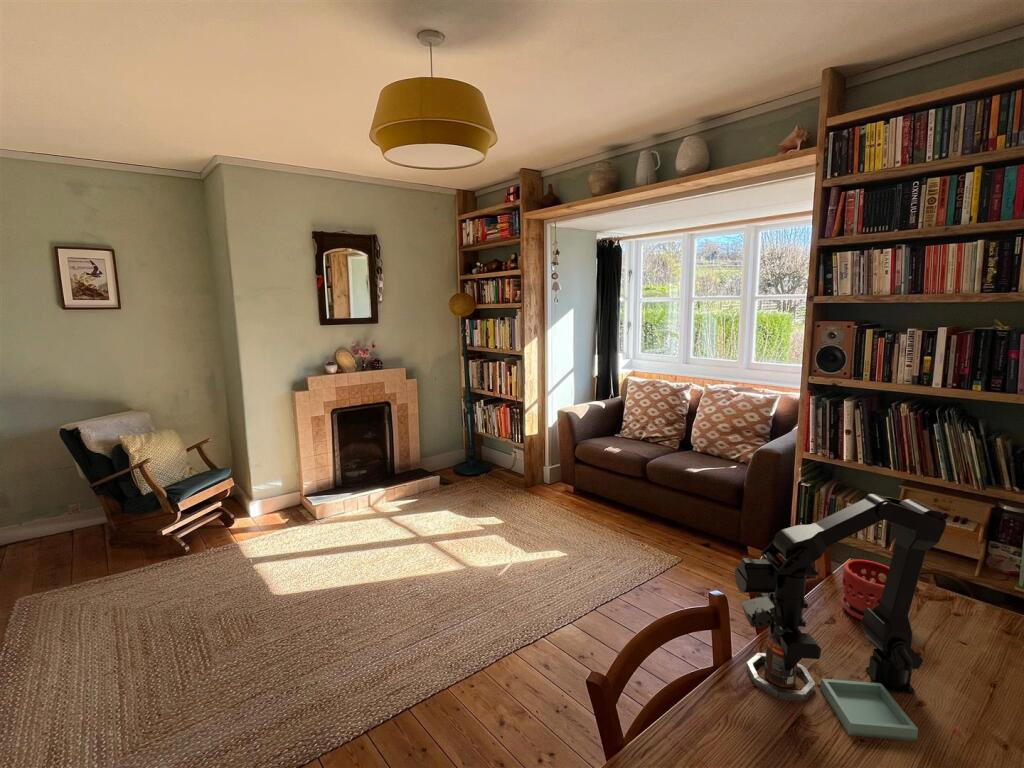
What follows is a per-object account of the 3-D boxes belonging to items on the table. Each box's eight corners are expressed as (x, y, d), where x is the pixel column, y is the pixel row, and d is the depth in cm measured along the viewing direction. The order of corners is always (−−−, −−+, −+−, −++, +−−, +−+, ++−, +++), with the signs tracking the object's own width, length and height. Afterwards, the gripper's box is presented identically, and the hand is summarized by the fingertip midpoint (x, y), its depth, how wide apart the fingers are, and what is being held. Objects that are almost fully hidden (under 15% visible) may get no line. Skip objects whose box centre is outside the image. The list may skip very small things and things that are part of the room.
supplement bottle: (799, 691, 109) (805, 641, 107) (768, 686, 110) (773, 637, 108) (790, 671, 114) (795, 623, 112) (760, 667, 115) (765, 620, 114)
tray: (879, 694, 108) (881, 683, 108) (916, 741, 97) (918, 729, 96) (820, 689, 109) (821, 678, 109) (849, 735, 98) (850, 723, 97)
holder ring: (797, 661, 117) (797, 655, 117) (822, 702, 106) (823, 696, 105) (741, 657, 119) (741, 651, 118) (760, 697, 107) (760, 690, 106)
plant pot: (837, 618, 134) (842, 574, 132) (840, 594, 144) (845, 553, 142) (900, 637, 126) (907, 591, 124) (899, 611, 137) (905, 568, 135)
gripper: (734, 566, 119) (728, 629, 121) (764, 615, 100) (757, 688, 103) (786, 569, 118) (779, 633, 120) (826, 620, 99) (817, 693, 102)
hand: (781, 659), depth 111 cm, fingers closed on supplement bottle, 6 cm apart
